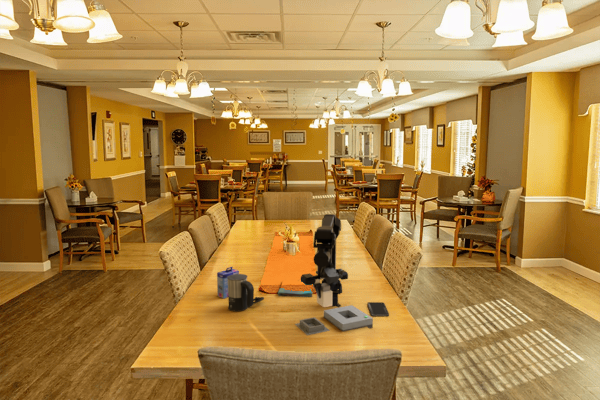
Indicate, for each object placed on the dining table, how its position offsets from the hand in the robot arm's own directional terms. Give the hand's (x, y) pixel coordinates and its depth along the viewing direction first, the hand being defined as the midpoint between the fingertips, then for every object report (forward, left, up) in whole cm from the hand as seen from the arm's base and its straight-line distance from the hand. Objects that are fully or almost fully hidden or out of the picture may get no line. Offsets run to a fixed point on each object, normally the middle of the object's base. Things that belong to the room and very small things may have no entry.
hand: (324, 297), depth 183 cm
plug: (0, 0, -3) cm, 3 cm away
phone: (-6, +30, -13) cm, 34 cm away
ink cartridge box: (-54, -25, -13) cm, 61 cm away
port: (+1, +10, -13) cm, 16 cm away
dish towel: (-48, +9, -14) cm, 51 cm away
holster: (0, -6, -13) cm, 14 cm away
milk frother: (-36, -21, -13) cm, 44 cm away
